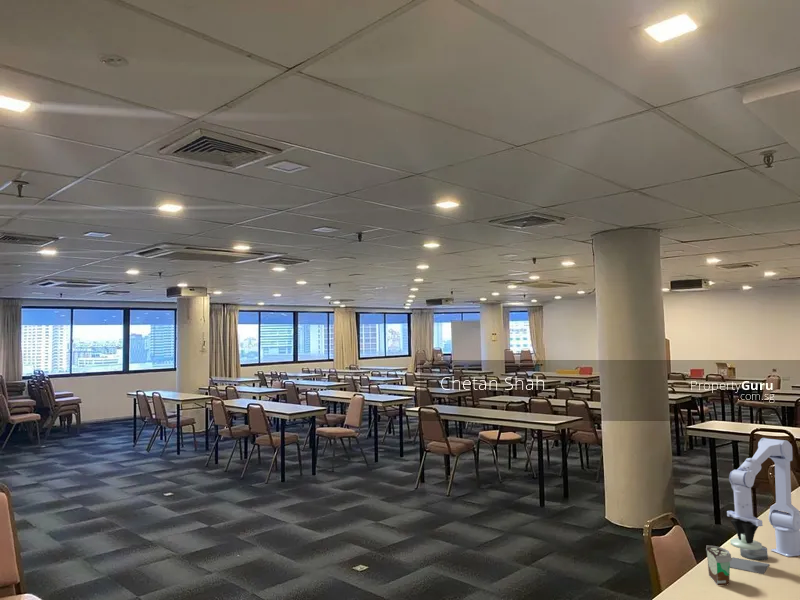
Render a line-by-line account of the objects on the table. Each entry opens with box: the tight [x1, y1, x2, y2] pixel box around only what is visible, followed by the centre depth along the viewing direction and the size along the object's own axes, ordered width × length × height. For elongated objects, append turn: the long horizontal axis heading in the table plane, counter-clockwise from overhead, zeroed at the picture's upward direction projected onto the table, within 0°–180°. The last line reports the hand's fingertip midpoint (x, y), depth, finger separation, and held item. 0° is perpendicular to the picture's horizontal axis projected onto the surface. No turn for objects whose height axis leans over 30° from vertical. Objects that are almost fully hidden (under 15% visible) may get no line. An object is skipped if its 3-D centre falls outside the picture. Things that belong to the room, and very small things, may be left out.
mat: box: [730, 556, 770, 575], centre depth 217 cm, size 12×12×1 cm
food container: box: [705, 545, 732, 586], centre depth 203 cm, size 12×6×10 cm, turn 168°
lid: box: [730, 533, 763, 550], centre depth 217 cm, size 10×10×4 cm
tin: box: [739, 545, 769, 561], centre depth 227 cm, size 9×9×4 cm
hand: (745, 541), depth 217 cm, fingers closed on lid, 3 cm apart
